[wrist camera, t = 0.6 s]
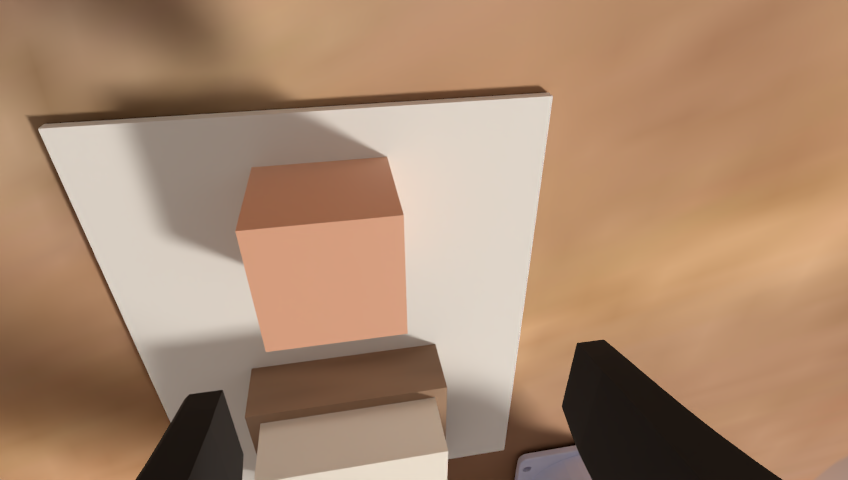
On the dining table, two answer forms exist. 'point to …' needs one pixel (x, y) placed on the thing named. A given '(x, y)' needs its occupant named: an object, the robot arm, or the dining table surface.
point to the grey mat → (307, 143)
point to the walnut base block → (344, 385)
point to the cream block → (356, 445)
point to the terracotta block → (324, 252)
